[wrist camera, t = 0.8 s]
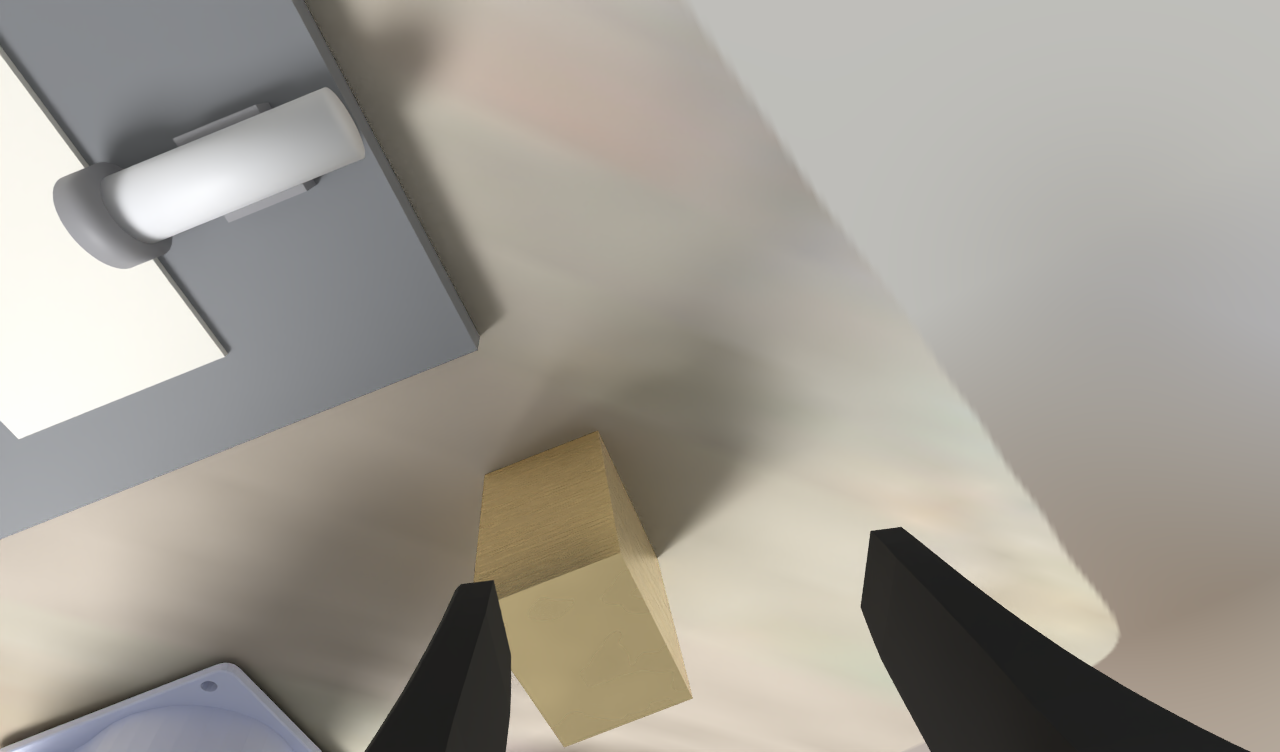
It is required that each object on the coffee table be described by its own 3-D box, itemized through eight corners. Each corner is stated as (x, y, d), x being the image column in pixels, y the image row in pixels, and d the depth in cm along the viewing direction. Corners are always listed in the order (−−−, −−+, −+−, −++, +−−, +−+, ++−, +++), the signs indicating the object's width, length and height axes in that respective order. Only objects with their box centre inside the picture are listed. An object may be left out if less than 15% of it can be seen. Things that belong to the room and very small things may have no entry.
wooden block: (556, 596, 25) (564, 747, 19) (484, 474, 22) (470, 610, 16) (656, 557, 24) (693, 698, 19) (597, 429, 22) (620, 552, 16)
